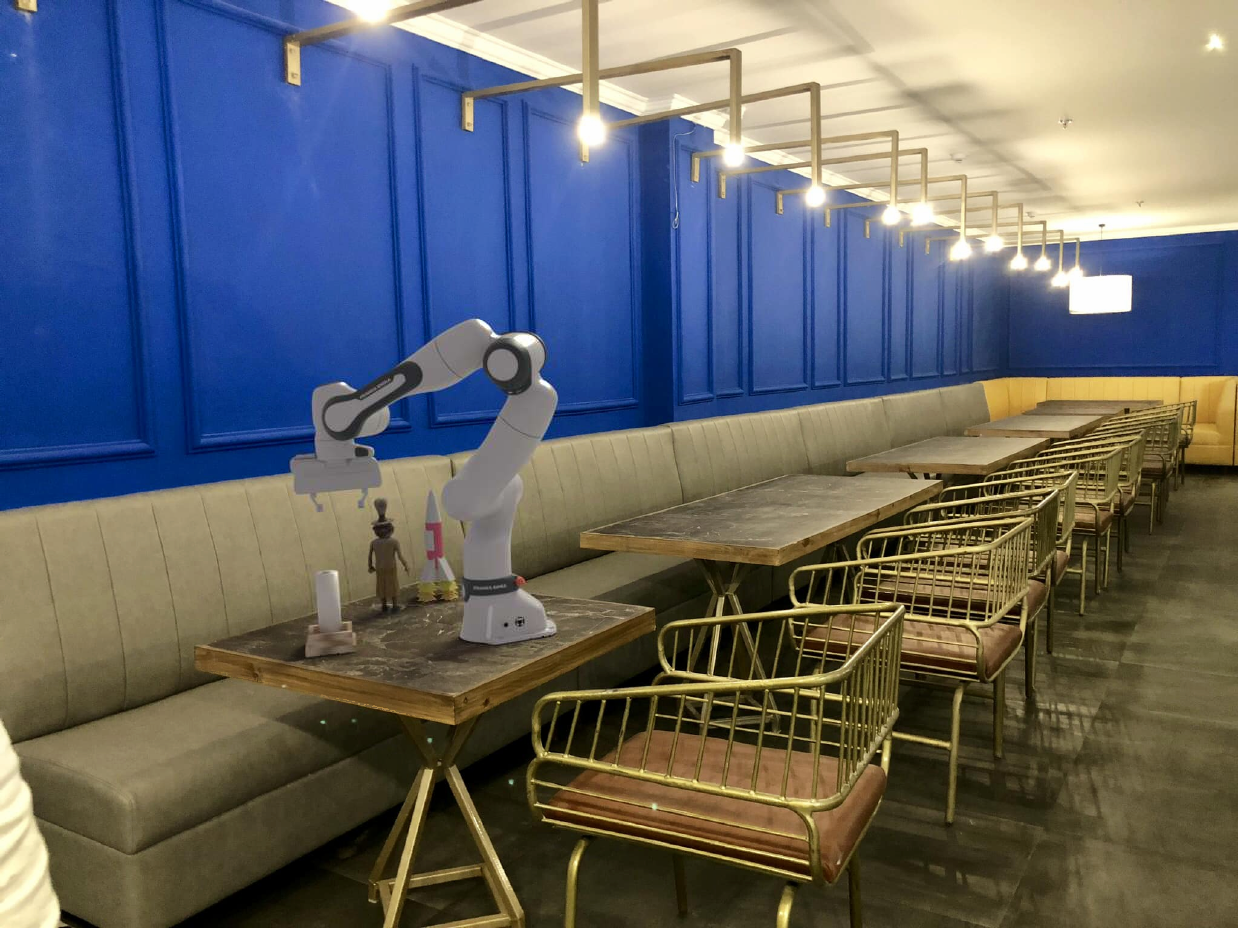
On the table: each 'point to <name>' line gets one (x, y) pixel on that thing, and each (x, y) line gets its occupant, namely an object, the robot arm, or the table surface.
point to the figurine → (386, 559)
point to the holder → (330, 641)
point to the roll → (328, 601)
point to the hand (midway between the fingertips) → (340, 509)
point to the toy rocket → (435, 557)
